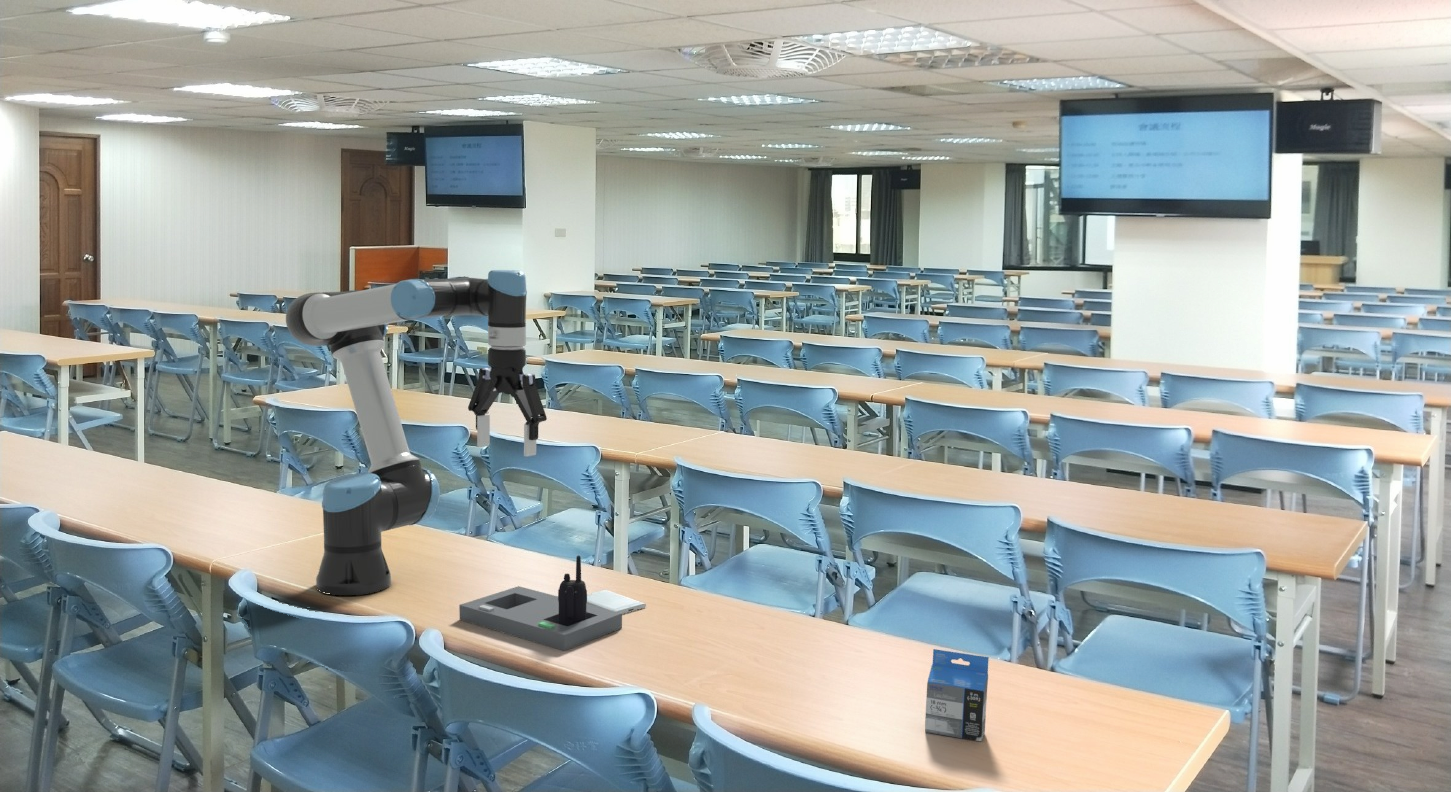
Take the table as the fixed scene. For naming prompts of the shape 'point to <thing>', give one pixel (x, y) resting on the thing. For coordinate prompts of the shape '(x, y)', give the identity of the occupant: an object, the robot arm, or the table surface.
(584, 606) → the two-way radio
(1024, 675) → the table surface
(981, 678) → the label tape cartridge
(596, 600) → the hard drive
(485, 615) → the charging base
